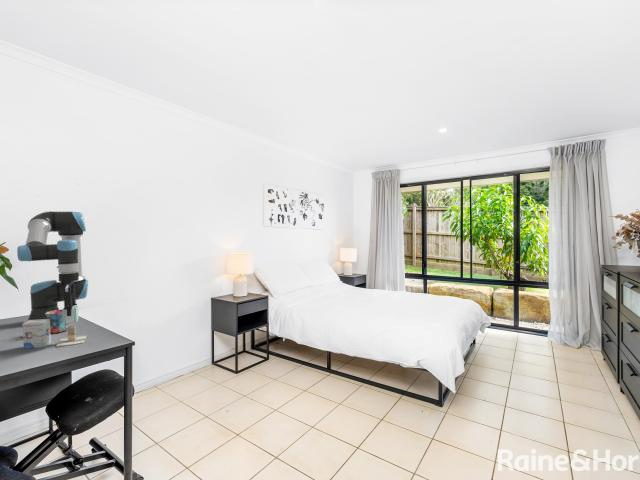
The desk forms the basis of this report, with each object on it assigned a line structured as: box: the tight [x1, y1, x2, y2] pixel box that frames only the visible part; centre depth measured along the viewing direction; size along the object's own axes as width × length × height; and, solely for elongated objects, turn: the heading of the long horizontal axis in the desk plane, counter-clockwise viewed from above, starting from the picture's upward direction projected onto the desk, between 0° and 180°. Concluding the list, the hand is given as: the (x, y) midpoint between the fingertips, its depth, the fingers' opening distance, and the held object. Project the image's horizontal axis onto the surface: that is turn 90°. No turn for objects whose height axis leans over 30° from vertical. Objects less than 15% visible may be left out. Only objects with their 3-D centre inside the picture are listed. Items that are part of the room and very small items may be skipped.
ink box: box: [22, 319, 52, 350], centre depth 145 cm, size 9×5×12 cm, turn 106°
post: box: [55, 325, 88, 348], centre depth 150 cm, size 12×10×7 cm
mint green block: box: [62, 305, 79, 325], centre depth 150 cm, size 5×5×7 cm
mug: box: [45, 308, 69, 334], centre depth 166 cm, size 12×9×11 cm
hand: (71, 320), depth 150 cm, fingers closed on mint green block, 5 cm apart
